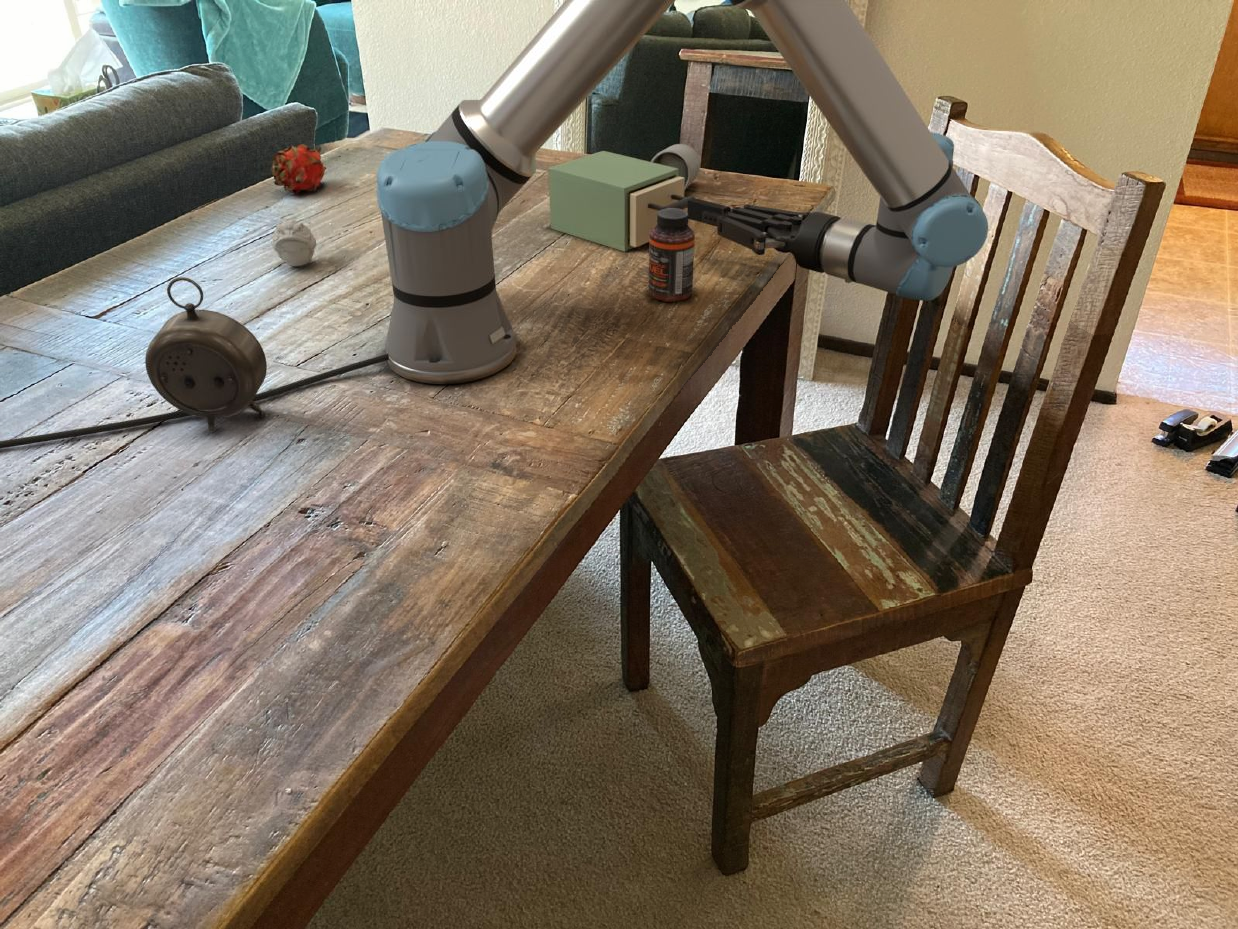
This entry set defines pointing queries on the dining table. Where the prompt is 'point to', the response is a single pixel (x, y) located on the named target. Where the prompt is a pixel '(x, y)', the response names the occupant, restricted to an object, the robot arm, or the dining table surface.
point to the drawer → (653, 206)
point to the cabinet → (599, 195)
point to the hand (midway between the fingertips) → (690, 208)
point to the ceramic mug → (680, 161)
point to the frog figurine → (293, 242)
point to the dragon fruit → (297, 168)
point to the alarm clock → (206, 363)
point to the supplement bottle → (671, 256)
